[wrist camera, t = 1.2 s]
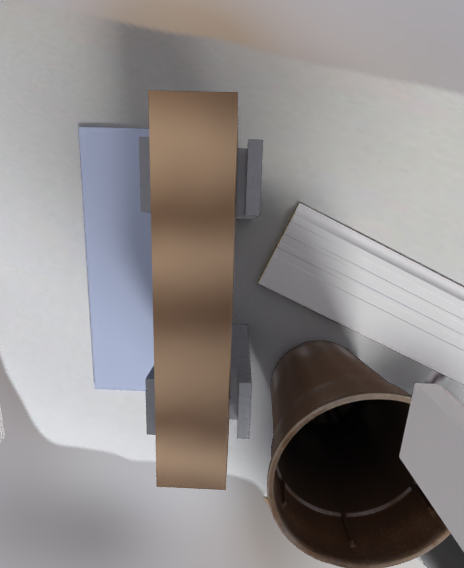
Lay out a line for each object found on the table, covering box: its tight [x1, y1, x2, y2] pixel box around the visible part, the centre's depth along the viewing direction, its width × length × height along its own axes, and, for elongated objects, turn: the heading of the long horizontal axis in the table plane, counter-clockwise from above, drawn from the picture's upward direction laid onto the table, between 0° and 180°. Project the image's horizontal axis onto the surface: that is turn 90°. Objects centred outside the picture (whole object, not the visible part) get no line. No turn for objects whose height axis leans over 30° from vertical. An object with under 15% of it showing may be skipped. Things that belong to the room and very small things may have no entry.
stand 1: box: [139, 137, 263, 219], centre depth 28 cm, size 5×8×14 cm, turn 88°
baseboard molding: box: [258, 203, 464, 385], centre depth 36 cm, size 31×3×12 cm
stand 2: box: [145, 324, 252, 439], centre depth 32 cm, size 5×8×14 cm, turn 88°
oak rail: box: [148, 90, 238, 490], centre depth 22 cm, size 26×5×6 cm, turn 178°
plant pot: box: [267, 341, 451, 568], centre depth 31 cm, size 16×16×16 cm
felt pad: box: [79, 127, 154, 391], centre depth 37 cm, size 32×10×1 cm, turn 178°
